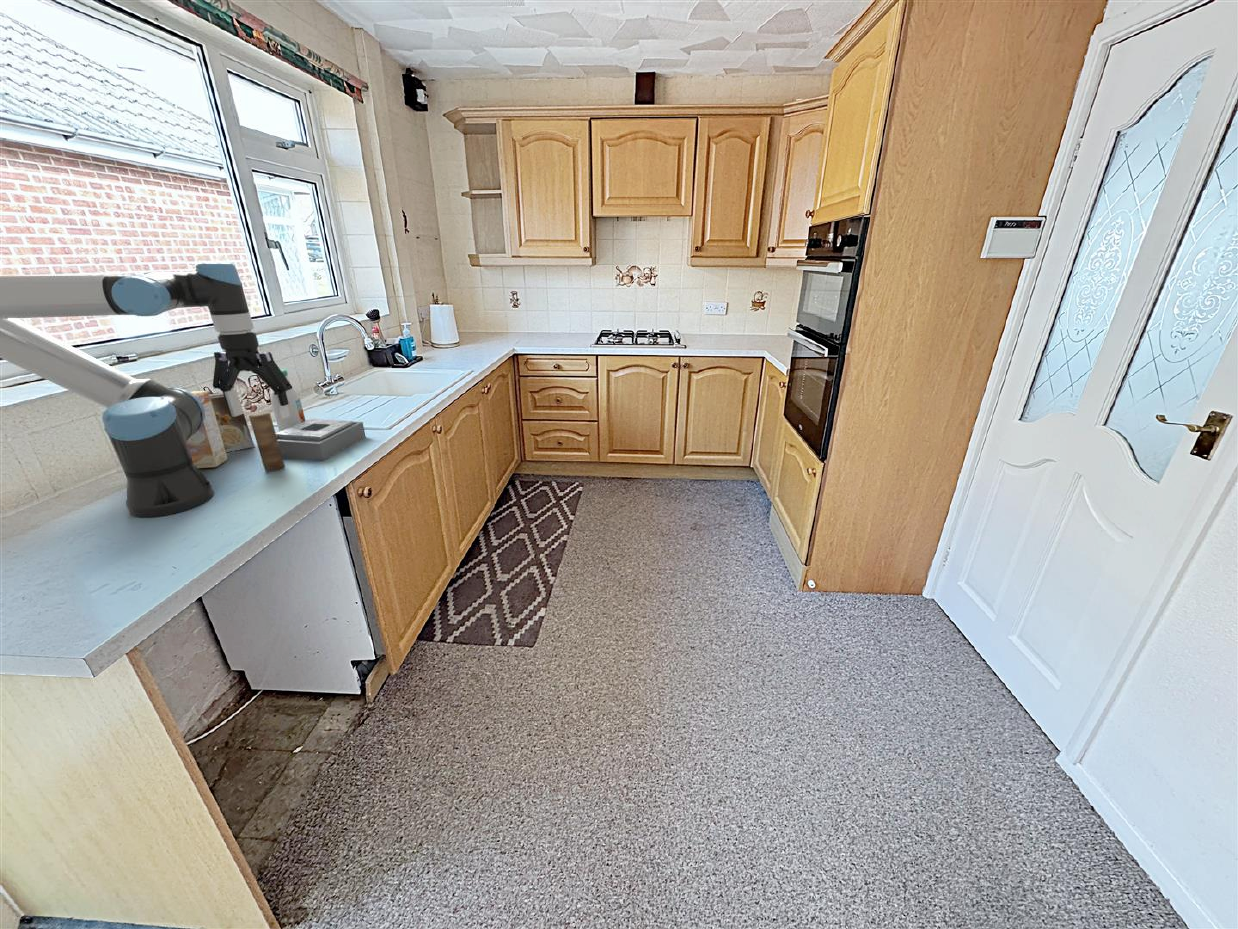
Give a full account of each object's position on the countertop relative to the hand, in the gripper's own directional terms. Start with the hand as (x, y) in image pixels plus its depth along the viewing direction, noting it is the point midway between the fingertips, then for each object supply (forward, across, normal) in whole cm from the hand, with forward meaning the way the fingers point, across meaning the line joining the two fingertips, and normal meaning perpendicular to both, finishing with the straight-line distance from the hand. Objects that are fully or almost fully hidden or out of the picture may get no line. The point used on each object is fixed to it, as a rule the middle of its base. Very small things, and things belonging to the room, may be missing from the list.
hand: (261, 416), depth 128 cm
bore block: (+14, 0, -16) cm, 22 cm away
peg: (+14, 0, 0) cm, 15 cm away
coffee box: (+15, +23, -11) cm, 30 cm away
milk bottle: (+15, +16, -26) cm, 34 cm away
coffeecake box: (+14, +23, +3) cm, 27 cm away
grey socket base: (+14, 0, -16) cm, 22 cm away
